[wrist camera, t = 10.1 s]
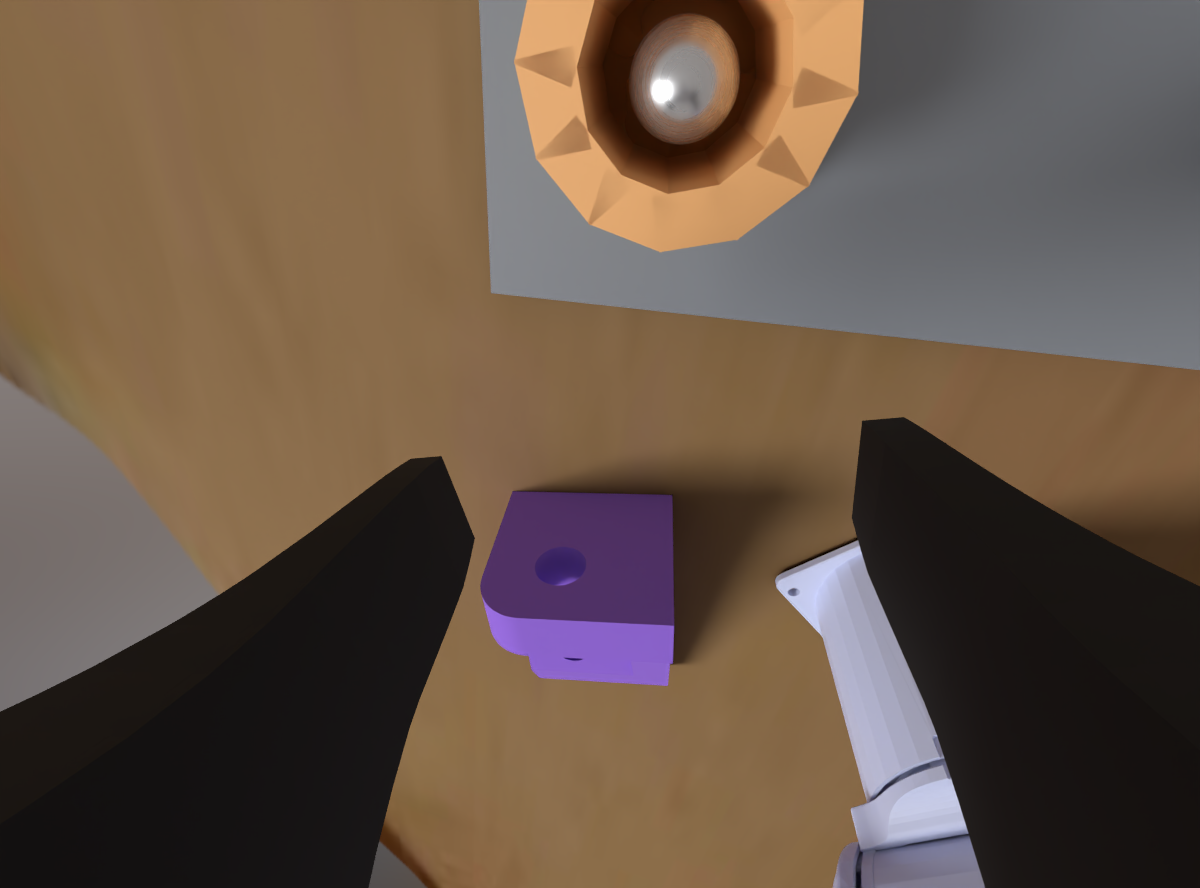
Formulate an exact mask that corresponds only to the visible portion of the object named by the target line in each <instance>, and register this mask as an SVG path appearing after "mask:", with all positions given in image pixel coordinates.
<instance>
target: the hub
mask: <svg viewBox="0 0 1200 888" xmlns="http://www.w3.org/2000/svg"><path fill="white" fill-rule="evenodd" d="M603 70H604V76H605V83H606V89H607V96H608V102H609V109H610V112H611V113H612V114H613V116H614V117H615V119H616V120H617V121H618V123H619V124H620V126H621V127H622V128H623V130H624V131H625V132H626V134H627V135H628V137H629V138H630V139H631V141H632V142H633V144H636V145H638V146H641V147H643V148H645V149H648V150H650V151H653V152H655V153H657V154H660V155H662V156H665V157H667V158H669V157H674V156H680V155H685V154H690V153H695V152H700V151H705V150H706V149H708V148H709V147H710V146H711V145H712V144H713V143H714V142H716V141H717V140H718V139H719V138H720V137H721V136H723V135H724V134H725V133H726V132H727V131H728V130H729V129H731V128H732V127H733V126H734V125H735V124H736V123H737V122H738V120H739V118H740V115H741V113H742V111H743V108H744V106H745V104H746V101H747V99H748V97H749V95H750V92H751V90H752V88H753V85H754V83H755V81H756V56H755V30H754V28H753V26H752V24H751V23H750V21H749V19H748V17H747V16H746V14H745V12H744V10H743V9H742V7H741V5H740V3H739V2H738V0H633V1H632V2H631V3H630V4H629V5H628V6H627V7H626V8H625V9H624V10H623V11H622V13H621V14H620V15H619V16H618V17H617V18H616V21H615V25H614V28H613V32H612V35H611V39H610V42H609V45H608V49H607V52H606V56H605V59H604V63H603Z"/></svg>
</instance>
